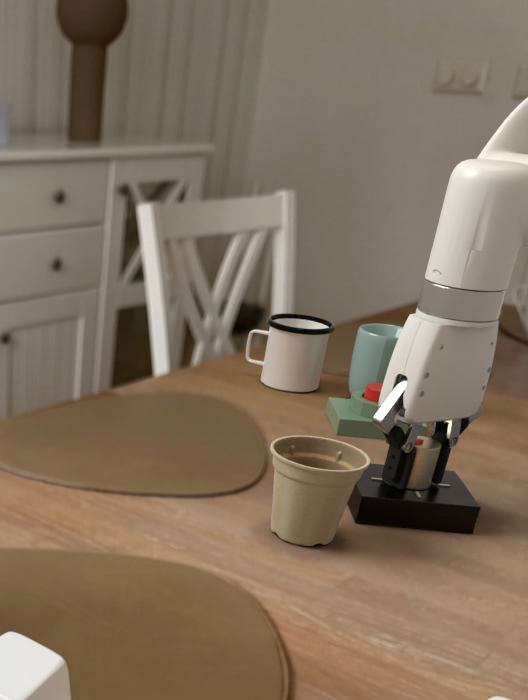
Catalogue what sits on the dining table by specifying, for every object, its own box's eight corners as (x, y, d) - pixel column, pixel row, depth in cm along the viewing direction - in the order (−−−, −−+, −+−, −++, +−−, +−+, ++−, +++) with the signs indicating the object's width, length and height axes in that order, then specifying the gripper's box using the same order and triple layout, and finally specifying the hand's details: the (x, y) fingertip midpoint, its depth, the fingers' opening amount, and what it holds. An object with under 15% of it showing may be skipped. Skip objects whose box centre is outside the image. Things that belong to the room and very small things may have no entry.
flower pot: (338, 517, 102) (357, 438, 97) (360, 558, 94) (382, 473, 89) (248, 511, 102) (263, 431, 97) (262, 551, 94) (279, 466, 89)
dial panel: (447, 496, 109) (455, 469, 107) (472, 534, 100) (481, 505, 99) (339, 486, 110) (345, 459, 108) (355, 523, 101) (362, 494, 99)
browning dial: (411, 473, 106) (423, 430, 103) (438, 487, 103) (451, 443, 100) (383, 477, 104) (394, 434, 102) (409, 491, 101) (421, 447, 99)
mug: (330, 384, 144) (344, 321, 139) (309, 399, 137) (323, 333, 132) (254, 367, 149) (264, 306, 144) (230, 381, 142) (240, 317, 137)
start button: (391, 397, 128) (394, 384, 127) (398, 407, 124) (401, 393, 123) (360, 394, 128) (363, 381, 127) (366, 404, 124) (369, 390, 124)
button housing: (407, 420, 132) (414, 391, 129) (423, 443, 124) (431, 412, 122) (324, 412, 132) (331, 383, 130) (335, 435, 124) (342, 404, 122)
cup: (367, 413, 133) (385, 339, 128) (331, 396, 139) (347, 324, 134) (412, 409, 136) (431, 336, 130) (374, 392, 142) (391, 322, 136)
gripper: (492, 291, 100) (443, 460, 109) (365, 297, 93) (325, 477, 103) (552, 308, 94) (495, 485, 104) (422, 316, 88) (373, 505, 97)
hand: (411, 479), depth 103 cm, fingers closed on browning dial, 4 cm apart
